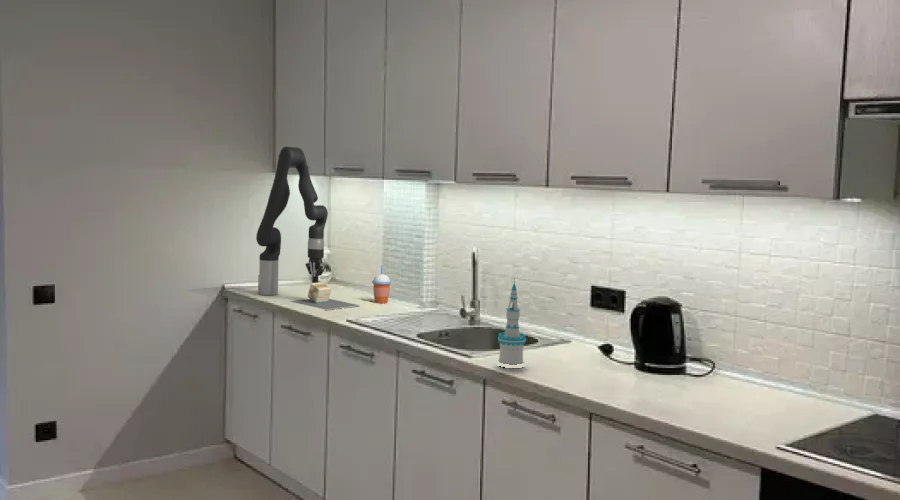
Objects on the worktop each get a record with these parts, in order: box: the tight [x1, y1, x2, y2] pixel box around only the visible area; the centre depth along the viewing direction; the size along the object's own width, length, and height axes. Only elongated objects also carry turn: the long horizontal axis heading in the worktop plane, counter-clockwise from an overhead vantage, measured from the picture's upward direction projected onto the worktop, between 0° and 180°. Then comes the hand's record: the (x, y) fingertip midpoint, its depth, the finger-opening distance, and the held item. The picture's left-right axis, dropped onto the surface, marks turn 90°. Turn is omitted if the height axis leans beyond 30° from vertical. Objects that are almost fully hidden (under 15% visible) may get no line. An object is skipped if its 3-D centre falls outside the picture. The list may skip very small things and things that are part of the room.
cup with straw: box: [371, 265, 392, 305], centre depth 414 cm, size 9×9×18 cm
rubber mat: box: [289, 298, 361, 312], centre depth 403 cm, size 27×20×1 cm
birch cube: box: [307, 281, 332, 303], centre depth 406 cm, size 7×7×7 cm
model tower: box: [497, 278, 527, 365], centre depth 292 cm, size 10×10×30 cm
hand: (315, 284), depth 408 cm, fingers closed
